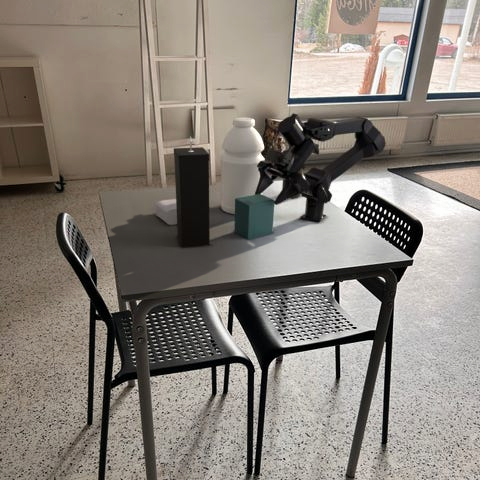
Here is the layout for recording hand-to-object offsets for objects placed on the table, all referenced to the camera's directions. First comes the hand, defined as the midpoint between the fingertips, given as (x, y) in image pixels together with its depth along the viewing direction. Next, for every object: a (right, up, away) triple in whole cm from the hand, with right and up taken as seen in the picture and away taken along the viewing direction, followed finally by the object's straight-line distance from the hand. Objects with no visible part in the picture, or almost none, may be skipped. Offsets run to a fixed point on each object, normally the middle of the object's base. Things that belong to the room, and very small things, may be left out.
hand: (265, 199), depth 144 cm
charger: (-29, -2, +13) cm, 32 cm away
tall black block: (-21, -13, -4) cm, 25 cm away
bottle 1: (-7, +2, +21) cm, 22 cm away
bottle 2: (+11, +10, +34) cm, 37 cm away
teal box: (-3, -5, 0) cm, 6 cm away
